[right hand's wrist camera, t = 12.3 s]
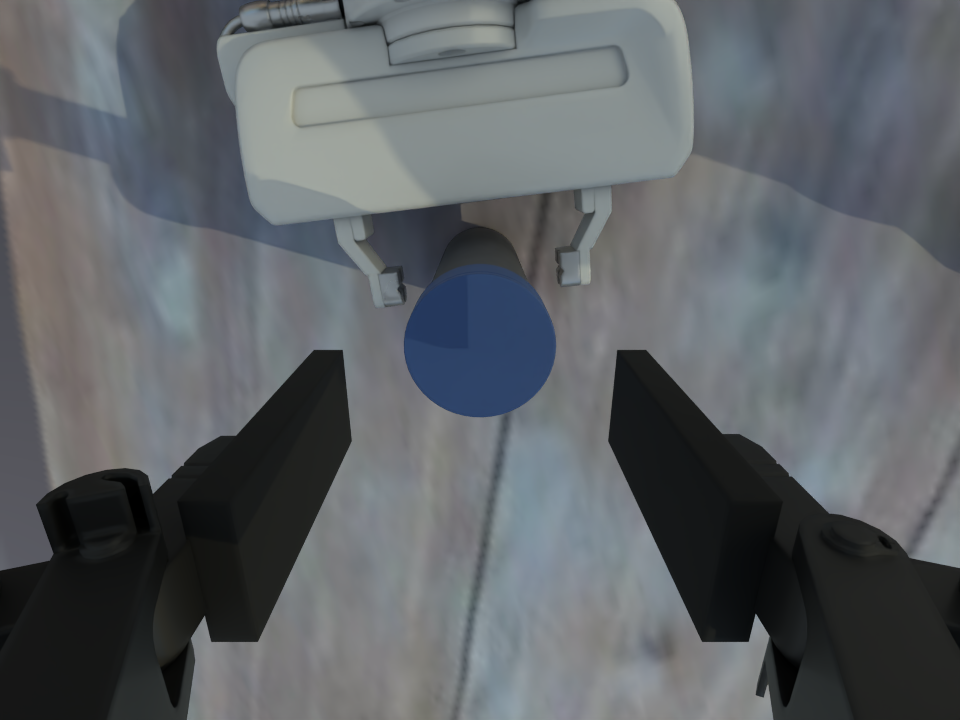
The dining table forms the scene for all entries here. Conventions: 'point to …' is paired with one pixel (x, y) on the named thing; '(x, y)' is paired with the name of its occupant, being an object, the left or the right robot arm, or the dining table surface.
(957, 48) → the dining table surface
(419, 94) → the left robot arm
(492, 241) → the dark grey cylinder
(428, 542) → the dining table surface
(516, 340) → the lid
